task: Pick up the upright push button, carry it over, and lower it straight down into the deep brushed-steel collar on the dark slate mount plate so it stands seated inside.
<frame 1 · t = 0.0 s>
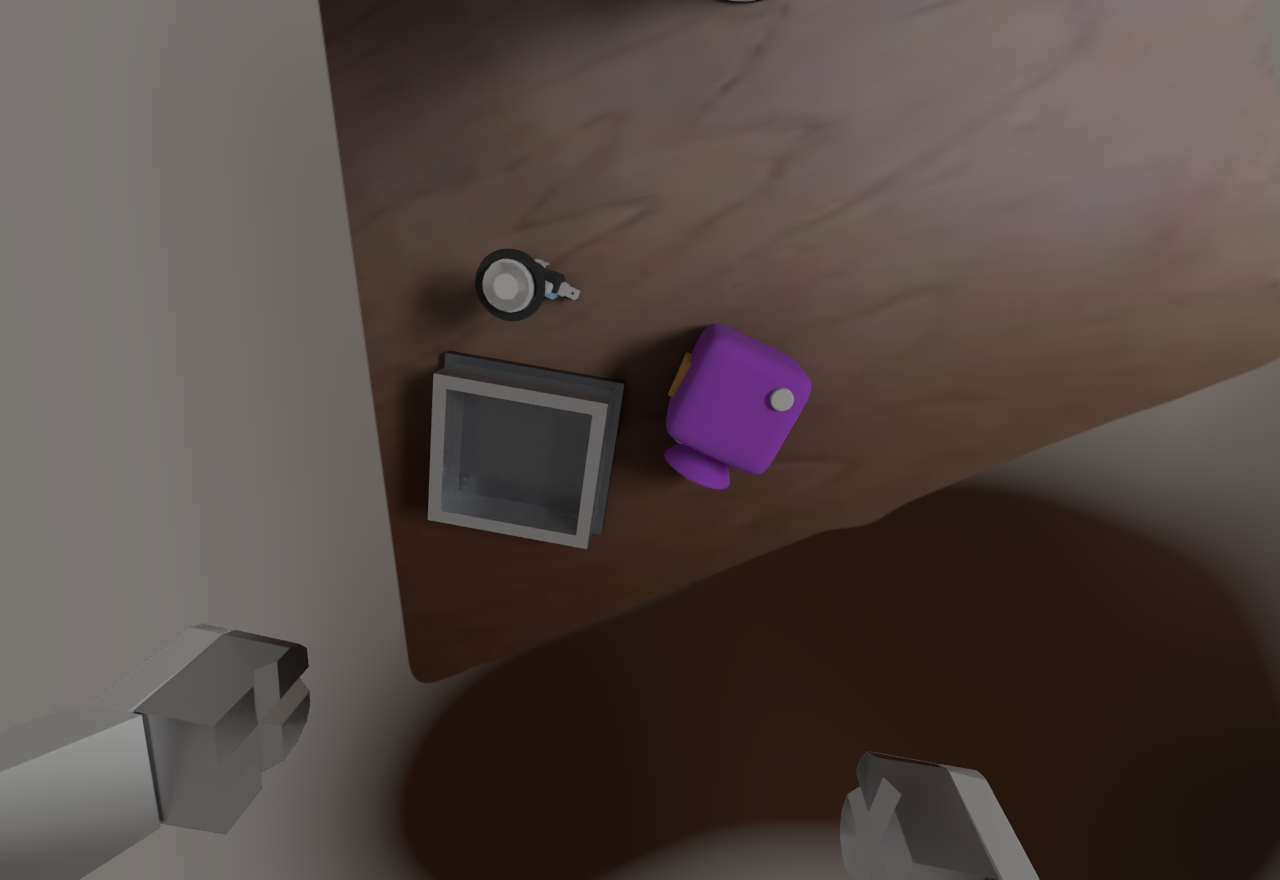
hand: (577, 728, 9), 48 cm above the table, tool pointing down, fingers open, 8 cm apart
toy camera: (724, 398, 56), on the table
mount plate: (529, 444, 59), on the table
push button: (546, 279, 54), on the table
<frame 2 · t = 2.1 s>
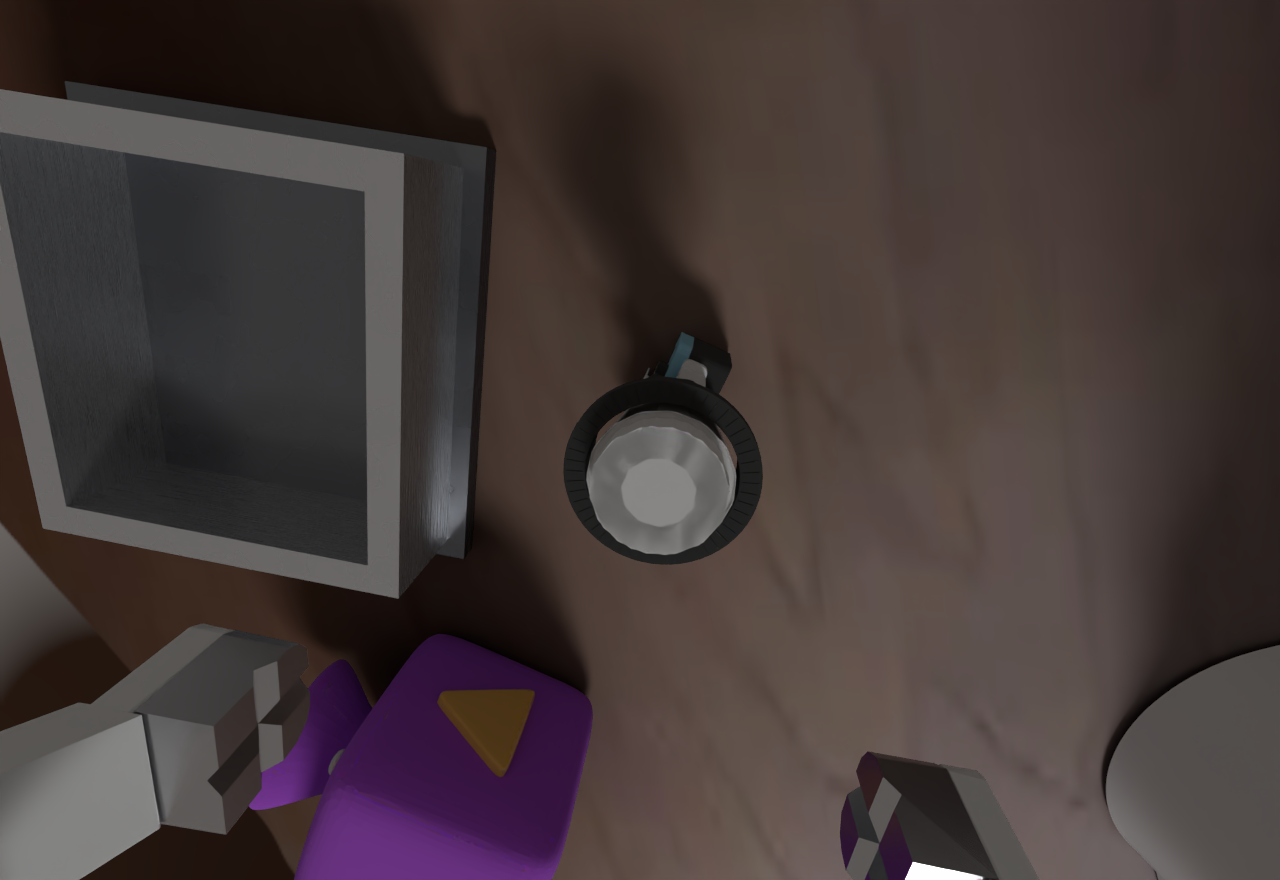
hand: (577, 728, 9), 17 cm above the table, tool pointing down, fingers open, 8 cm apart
toy camera: (464, 701, 32), on the table
mount plate: (300, 340, 25), on the table
push button: (671, 404, 25), on the table
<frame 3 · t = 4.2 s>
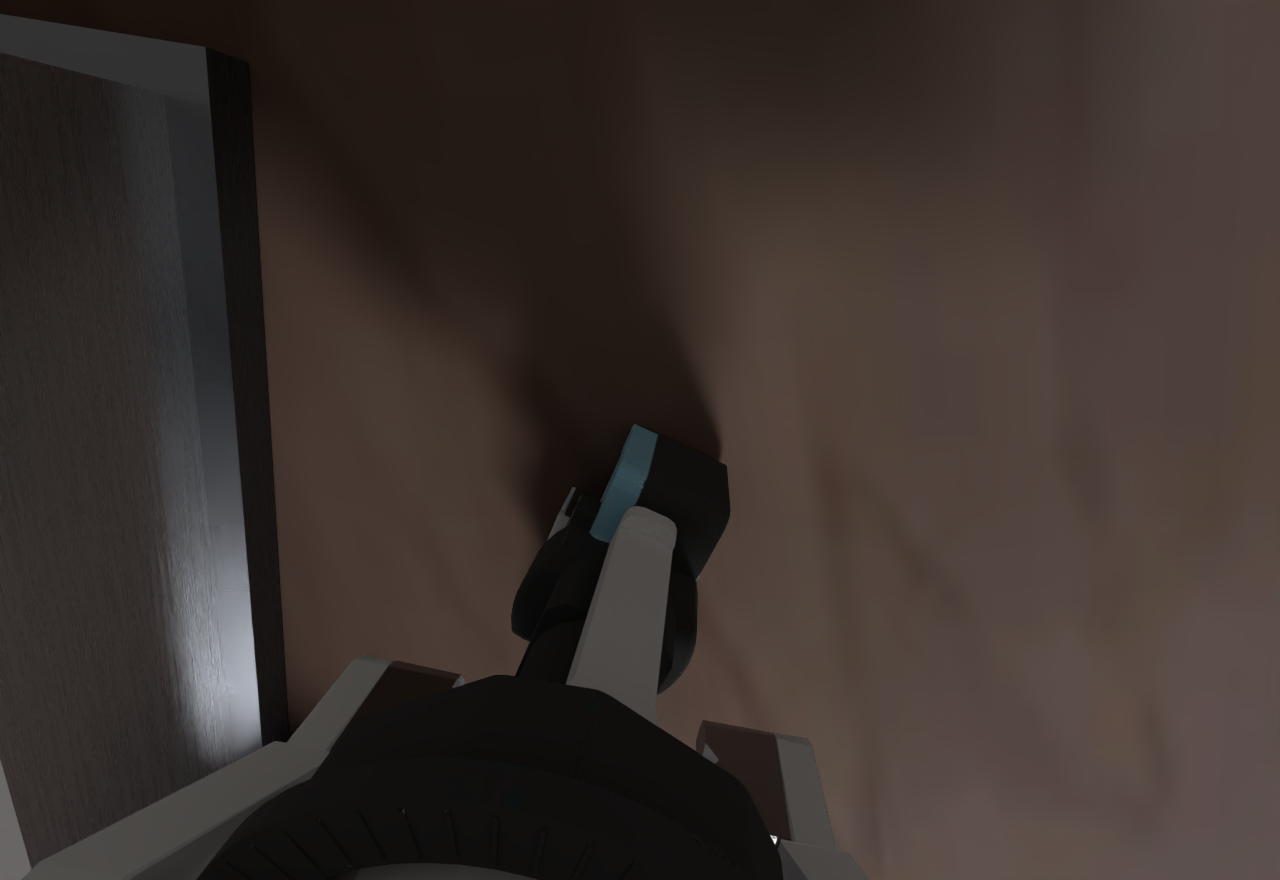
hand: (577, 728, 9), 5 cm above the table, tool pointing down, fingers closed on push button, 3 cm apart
push button: (619, 546, 14), on the table, touching gripper
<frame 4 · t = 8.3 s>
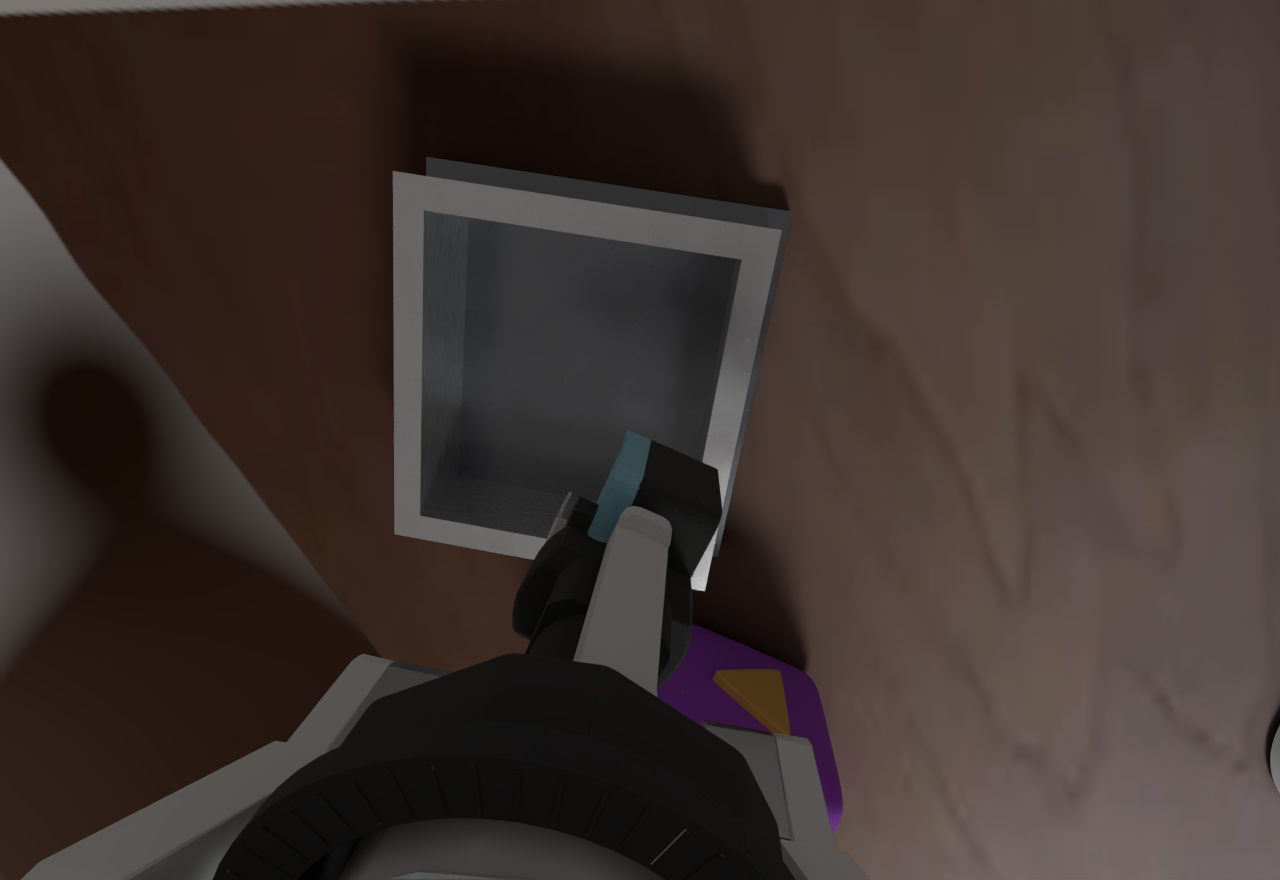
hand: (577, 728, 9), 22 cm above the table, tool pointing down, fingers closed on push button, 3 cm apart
toy camera: (687, 682, 36), on the table
mount plate: (589, 370, 30), on the table
push button: (614, 550, 14), point 16 cm above the table, touching gripper
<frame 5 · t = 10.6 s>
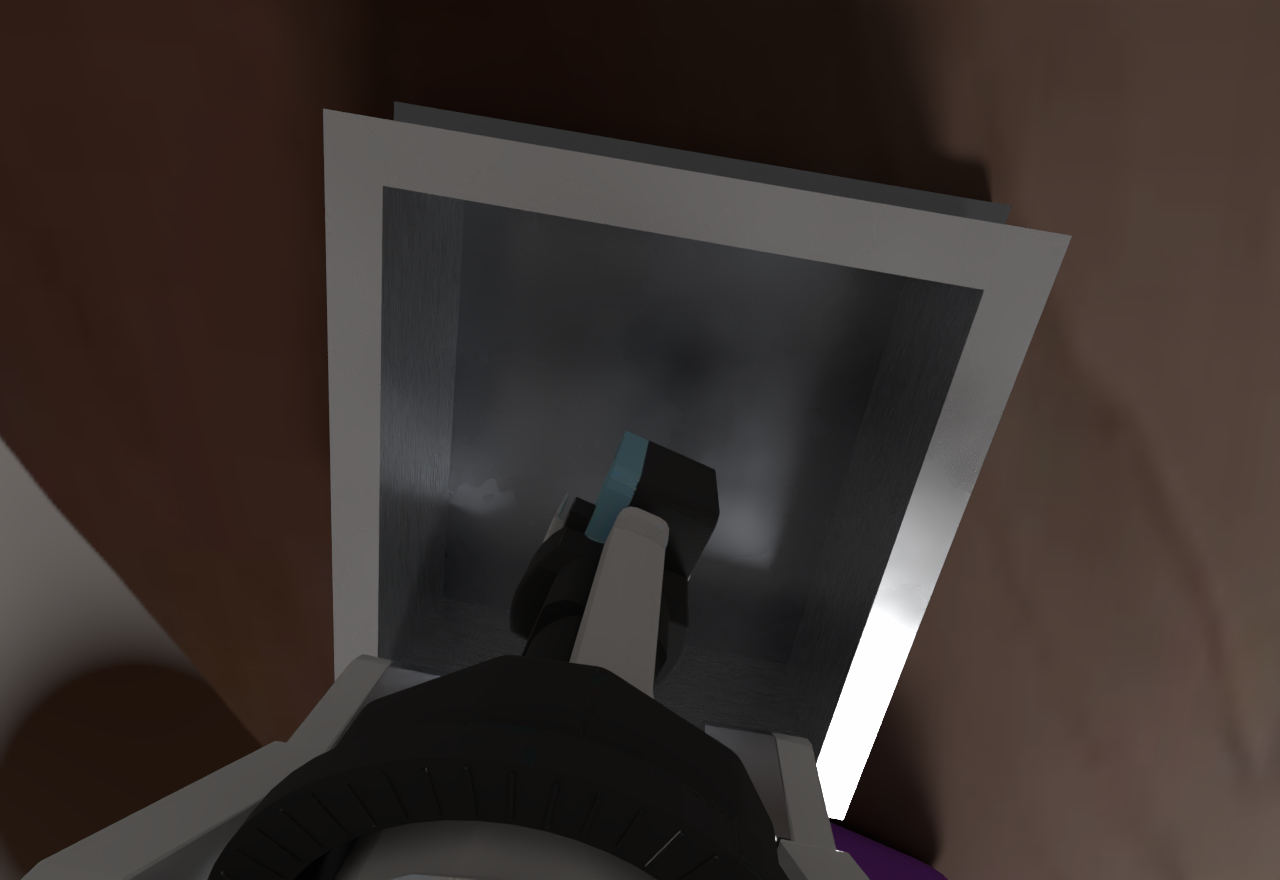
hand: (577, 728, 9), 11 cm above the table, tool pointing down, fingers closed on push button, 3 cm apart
toy camera: (763, 868, 25), on the table
mount plate: (646, 445, 19), on the table
push button: (611, 550, 14), point 6 cm above the table, touching gripper
when the fingers open (8 cm above the table, at t = 12.5 s): push button drops 1 cm, resting on mount plate.
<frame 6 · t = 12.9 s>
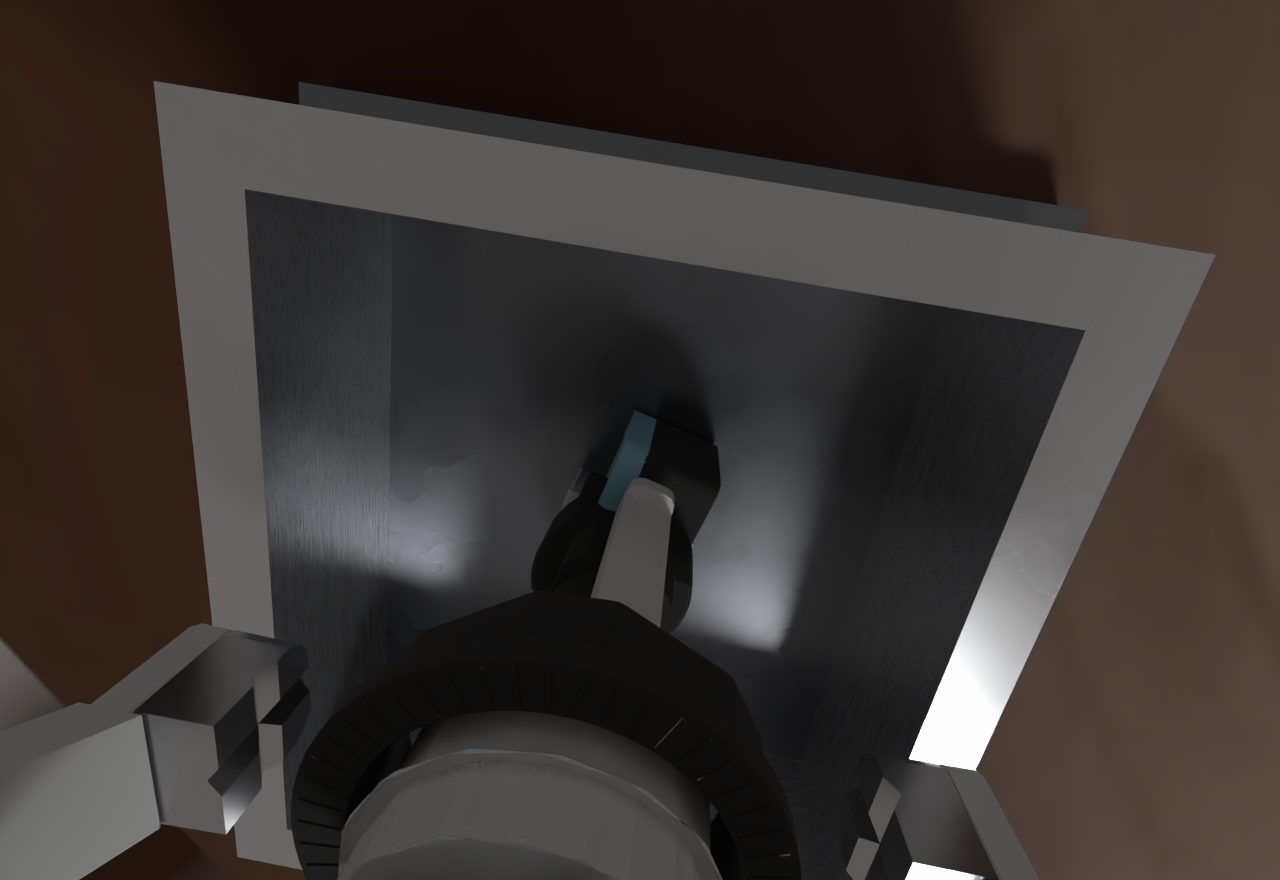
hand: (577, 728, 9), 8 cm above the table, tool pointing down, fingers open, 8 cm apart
mount plate: (628, 502, 16), on the table
push button: (621, 522, 15), point 1 cm above the table, touching mount plate
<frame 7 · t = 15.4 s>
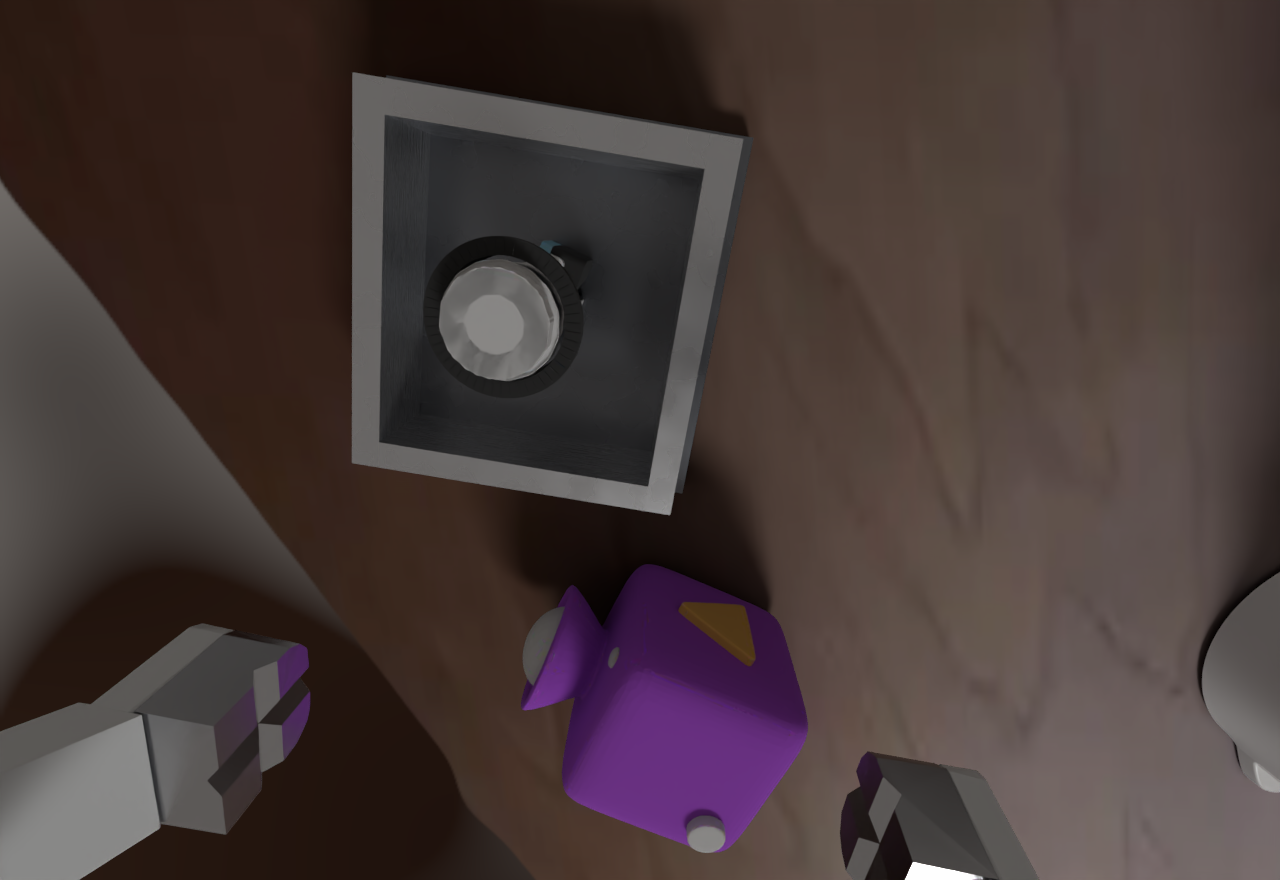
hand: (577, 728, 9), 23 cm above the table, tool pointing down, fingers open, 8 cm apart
toy camera: (653, 628, 36), on the table
mount plate: (552, 302, 29), on the table
push button: (547, 308, 29), point 1 cm above the table, touching mount plate
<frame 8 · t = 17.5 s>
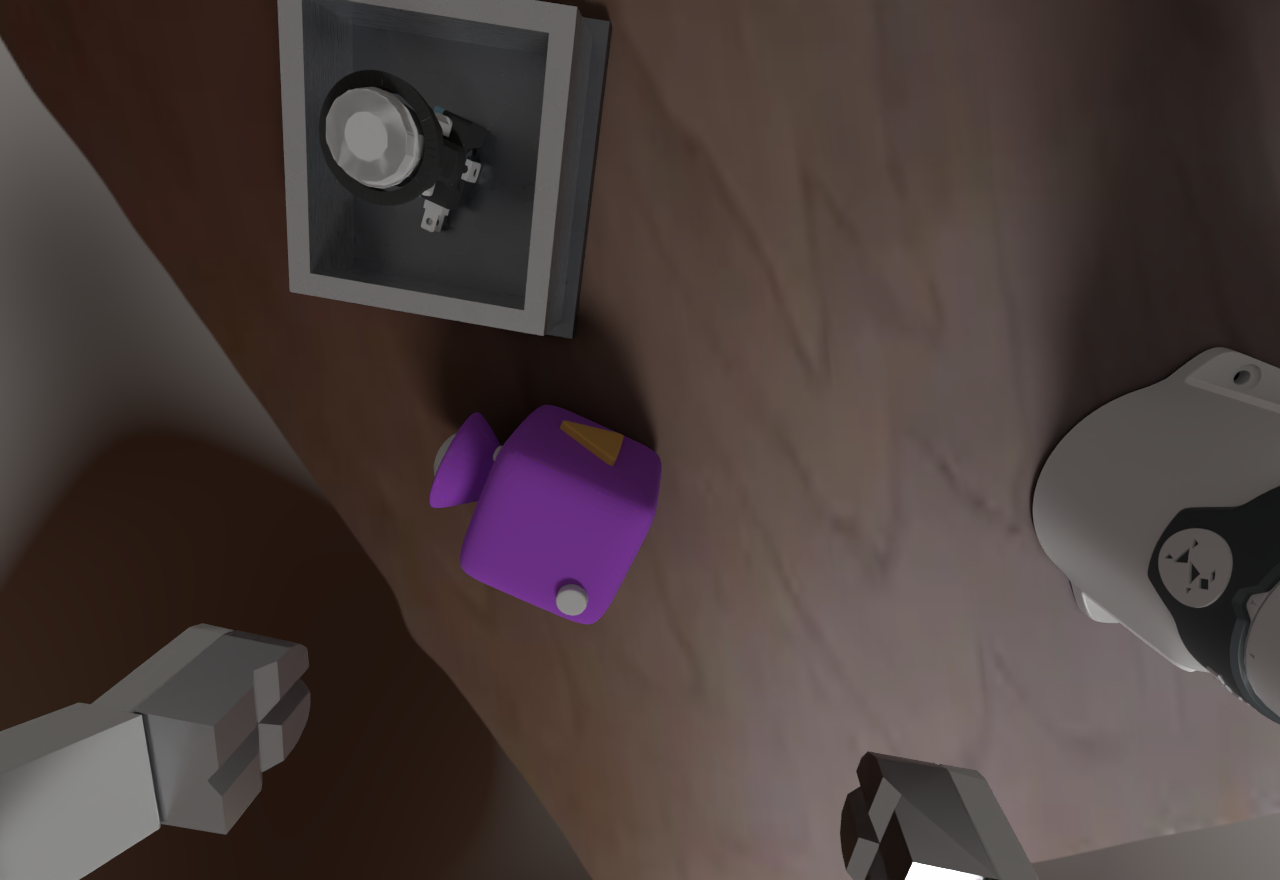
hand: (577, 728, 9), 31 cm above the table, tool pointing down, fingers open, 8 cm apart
toy camera: (559, 469, 42), on the table
mount plate: (460, 172, 36), on the table
push button: (453, 173, 35), point 1 cm above the table, touching mount plate
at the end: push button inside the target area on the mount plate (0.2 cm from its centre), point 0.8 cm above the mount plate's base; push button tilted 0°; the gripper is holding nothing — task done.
